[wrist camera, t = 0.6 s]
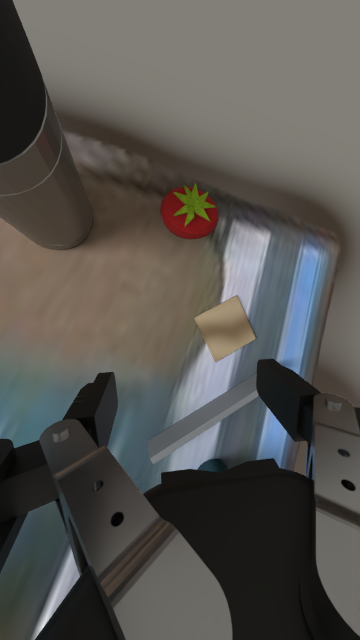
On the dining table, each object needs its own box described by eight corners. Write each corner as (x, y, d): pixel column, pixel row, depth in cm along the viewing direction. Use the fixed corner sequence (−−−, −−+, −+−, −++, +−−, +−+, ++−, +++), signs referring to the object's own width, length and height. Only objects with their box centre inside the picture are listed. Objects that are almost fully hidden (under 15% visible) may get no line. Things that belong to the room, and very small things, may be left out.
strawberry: (199, 254, 34) (228, 232, 24) (151, 242, 32) (161, 212, 22) (206, 217, 34) (238, 180, 24) (159, 202, 32) (172, 155, 22)
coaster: (194, 317, 34) (194, 317, 34) (235, 295, 35) (236, 295, 35) (215, 361, 35) (215, 362, 35) (254, 338, 37) (255, 338, 36)
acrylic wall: (147, 441, 33) (149, 458, 29) (271, 363, 38) (288, 369, 34) (150, 446, 33) (153, 464, 29) (273, 368, 38) (290, 375, 34)
